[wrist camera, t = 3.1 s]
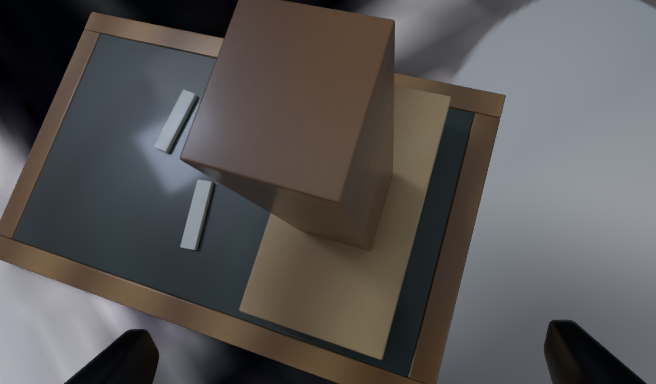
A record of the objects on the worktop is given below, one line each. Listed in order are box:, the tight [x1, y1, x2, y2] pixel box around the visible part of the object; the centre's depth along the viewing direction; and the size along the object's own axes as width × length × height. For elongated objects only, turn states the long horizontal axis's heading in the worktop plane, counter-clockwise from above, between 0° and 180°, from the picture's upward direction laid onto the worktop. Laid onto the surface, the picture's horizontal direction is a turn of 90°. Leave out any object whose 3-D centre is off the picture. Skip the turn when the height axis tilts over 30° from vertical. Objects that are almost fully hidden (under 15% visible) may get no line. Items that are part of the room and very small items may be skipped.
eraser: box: [180, 0, 451, 360], centre depth 14 cm, size 6×11×13 cm, turn 163°
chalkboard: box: [0, 12, 506, 384], centre depth 22 cm, size 24×15×1 cm, turn 73°
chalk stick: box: [180, 179, 214, 250], centre depth 21 cm, size 1×4×1 cm, turn 169°
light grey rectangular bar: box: [154, 90, 197, 153], centre depth 22 cm, size 1×4×1 cm, turn 155°
